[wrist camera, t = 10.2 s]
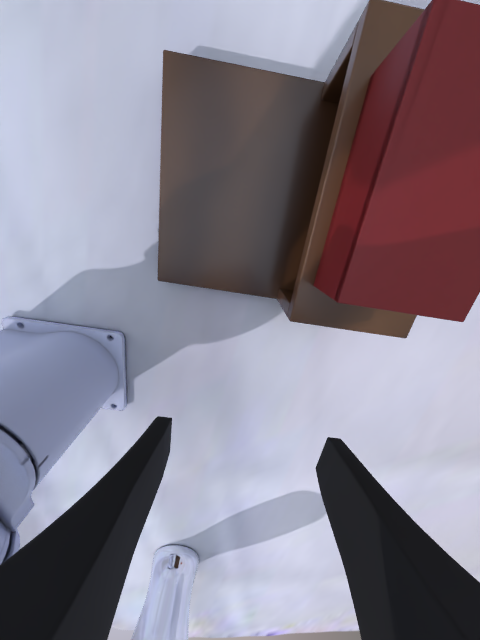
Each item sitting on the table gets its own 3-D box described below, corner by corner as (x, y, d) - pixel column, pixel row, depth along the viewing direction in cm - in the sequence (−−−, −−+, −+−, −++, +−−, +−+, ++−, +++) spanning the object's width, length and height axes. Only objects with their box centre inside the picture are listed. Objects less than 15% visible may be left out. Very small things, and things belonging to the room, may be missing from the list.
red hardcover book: (312, 285, 11) (337, 303, 8) (370, 75, 8) (436, -7, 5) (408, 301, 11) (463, 322, 9) (495, 101, 9) (620, 35, 6)
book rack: (164, 277, 17) (126, 297, 11) (171, 68, 13) (116, -63, 7) (354, 306, 18) (407, 339, 12) (420, 118, 13) (547, 35, 8)
